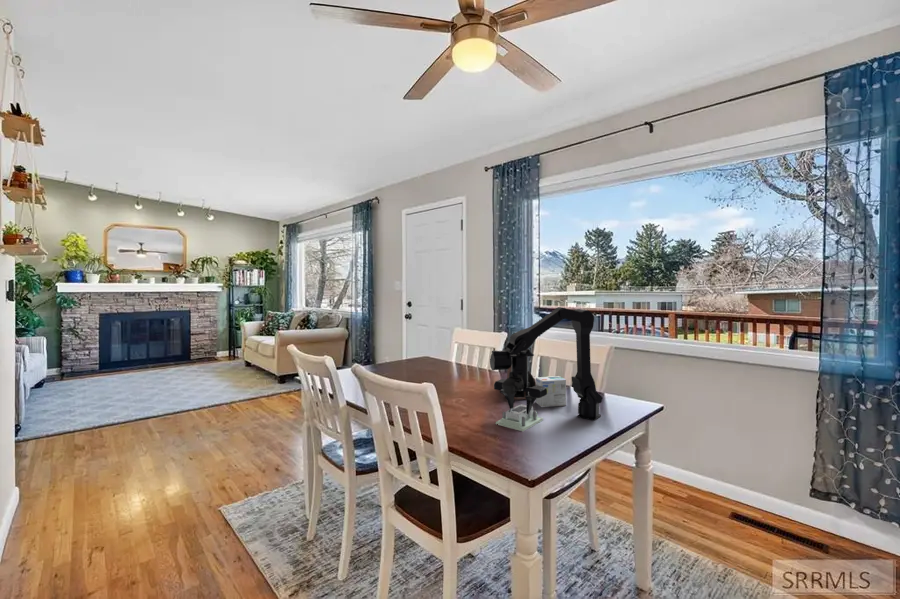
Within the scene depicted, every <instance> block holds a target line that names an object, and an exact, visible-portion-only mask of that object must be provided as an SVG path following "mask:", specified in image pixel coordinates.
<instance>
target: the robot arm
mask: <svg viewBox="0 0 900 599" xmlns="http://www.w3.org/2000/svg"><path fill="white" fill-rule="evenodd" d="M563 320H569V321H571V324H572V327H573V330H574V333H575V337H576V338H575V339H576V370H577V372H576V374H575V376H571V383H572V384H571V388H572V389H573V391H574V392H575V394H576V395H577V398H579V402H578V404H577V417H578V418H582V419H586V420H591V421H596V420H597V419H598V418H601V416H602V415H601V414H600V404H601V403H602V401H603V396H602V395H601V394H600V393H599V392H598V391H597V388H596V382H595V380H594V376H593V375H592V370H591V369H592V367H591V366H592V365H591V339H590V338H591V333H592V330H594V329H593V328H594V323H595V315H594V313H592V311H591V310H586V309H580V308H578V309H575V310H573V309H568V308H566V307H561V306H559V307H558V306H557V307H556V308H554V310H552V311H550V312H549V313H548V314H546V315H545V316H543V317H542V318H541V319H539V320H538V321H536V322H535V323H534V324H532V325H531V326H528V327H527V328H523V329H520V330H518V331H517V332H514V333H512V334H511V335H510V336H509V341H508V343H507V344H506V345H505V347H504V349H503V350H494V349H493V350H492V351H491V355H490V358H489V365H490V369H491V371H504V370H508V369H509V368H511V365H512V371H511V372H510V373H509V378H507V377H506V379H504V378H502V379H498V380H496V381H495V382H494V383H493V389H494V390H496V391H499V392H500V393H501V394H502V395H504V397H505V399H506V402H507V404H508V407H509V410H510V409H512V408H514V407H515V406H514V405H515V400H514V394H516V392H517V391H524V392H528V395H527V396H525V398H526V406H527V407H526V411H527V414H529V413H530V410H531V408H532V407H533V405H534V403H535V402H536V398H541V397H543V396H545V395H547V389H546V388H545V387H543V386H538V385H536V386H533V387H528V386H529V385H530V382H528V374H530V373H531V371H530V370H529V366H528V365H529V358H528V357H534V356H535V354H534V353H532V352H531V350H530V347H532V345H533V344H534V343H535V342H536V340H537V339H538V337H540V336H541V335H543V334H544V333H545V332H547V331H548V330H550V329H552V328H553V327H554V326H556V325H557V324H559V323H560V322H561V321H563Z"/></svg>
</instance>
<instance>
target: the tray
mask: <svg viewBox="0 0 900 599" xmlns="http://www.w3.org/2000/svg"><path fill="white" fill-rule="evenodd" d="M516 406H517V405H515V406H514V407H516ZM542 421H544V418H543V417H540V416H538V413H537V410H533V418H532V419H530V420H528V421H526V422H525V417H522V424H521V425H520V422H516V421H512V420H508V419H506V411H502V418H500V419H499V420H497V421H496V422H495V425H497V424H498V426H502V427H505V428H508V429H512V430H516V431H520V432H525V431H526V430H528V429H530V428H531V427H533V426H535V425H537V424H539V423H540V422H542Z"/></svg>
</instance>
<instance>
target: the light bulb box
mask: <svg viewBox="0 0 900 599" xmlns="http://www.w3.org/2000/svg"><path fill="white" fill-rule="evenodd" d="M535 382H536V385H538V386H543V387H545V388H546V389H547V395H545V396H543V397H541V398H536V400H535V403H536V404H539V405H538V406H539V407H541V408H546V407H547V408H548V407H562V406H567V379H566V378H564V377H561V376H560V375H557V376H556V375H553V376H541V377H540V376H539V377H538V376H537V377H535Z"/></svg>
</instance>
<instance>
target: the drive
mask: <svg viewBox="0 0 900 599" xmlns="http://www.w3.org/2000/svg"><path fill="white" fill-rule="evenodd" d="M515 406H516V407H515ZM515 406H513V408H512V409H510V408H509V409H508V410H506V411H505V412H506V419H508V420H512V421H516V422H520V425H521V424H522V417H525V422H526V421H528V420H530V419H532V418H533V411H534V407H533V406H532V408H531V410H530V413H529V414H527V411H526V407H527V404H522V403H521V404H519V405H515Z"/></svg>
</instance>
